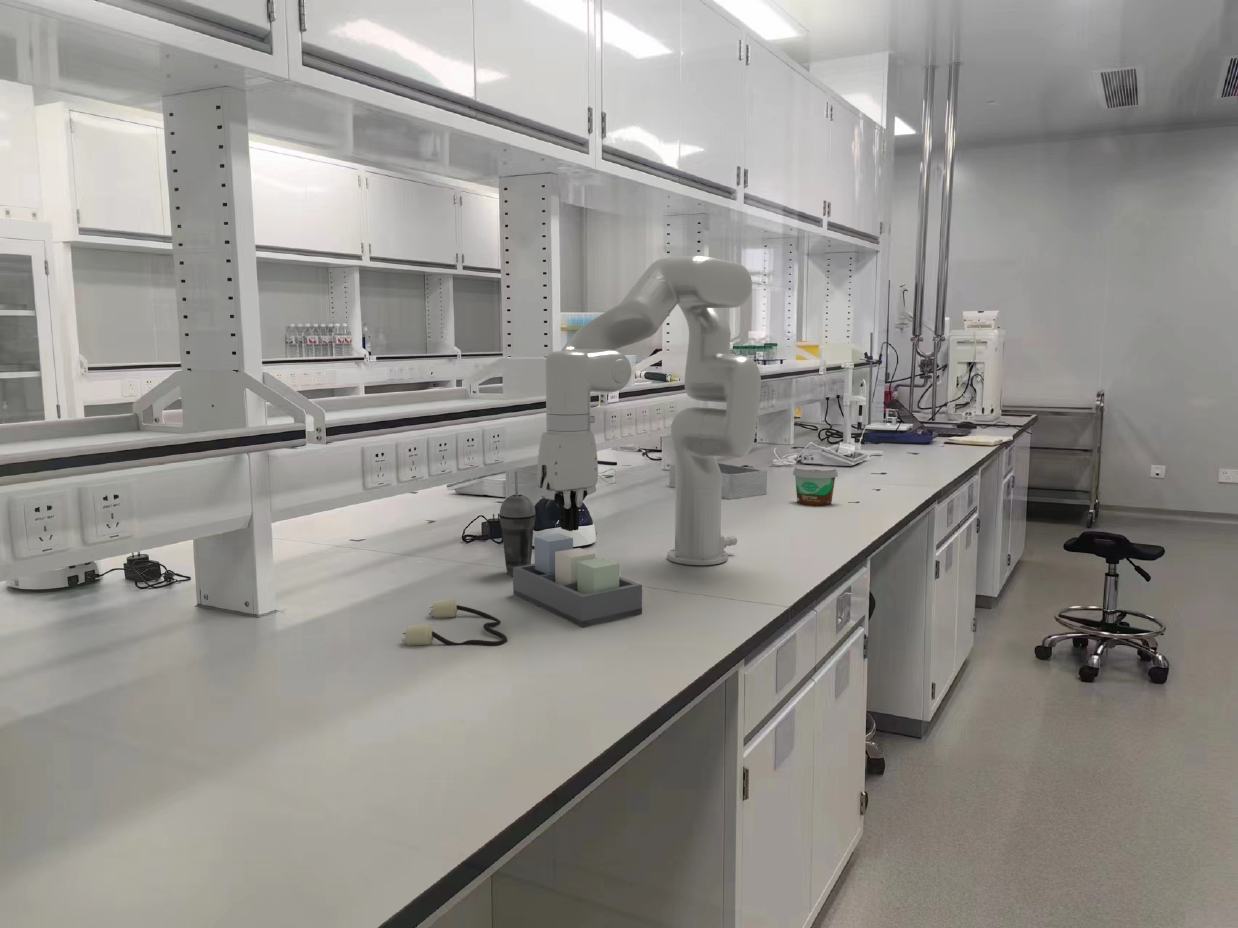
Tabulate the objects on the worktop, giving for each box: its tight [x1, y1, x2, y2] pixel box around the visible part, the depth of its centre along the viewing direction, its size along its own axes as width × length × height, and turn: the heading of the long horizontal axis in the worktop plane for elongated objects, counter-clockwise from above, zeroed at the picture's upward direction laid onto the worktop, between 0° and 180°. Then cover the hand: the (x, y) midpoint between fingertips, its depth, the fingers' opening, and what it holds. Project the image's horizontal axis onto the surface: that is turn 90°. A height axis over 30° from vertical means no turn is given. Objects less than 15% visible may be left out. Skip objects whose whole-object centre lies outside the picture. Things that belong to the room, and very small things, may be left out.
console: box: [512, 563, 643, 628], centre depth 153 cm, size 12×22×5 cm, turn 36°
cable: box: [401, 598, 508, 647], centre depth 139 cm, size 16×16×4 cm
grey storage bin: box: [669, 461, 768, 500], centre depth 267 cm, size 15×27×7 cm, turn 36°
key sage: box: [577, 557, 620, 594], centre depth 146 cm, size 5×5×6 cm
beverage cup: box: [498, 471, 537, 577], centre depth 171 cm, size 7×7×20 cm
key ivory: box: [555, 547, 596, 584], centre depth 152 cm, size 5×5×6 cm
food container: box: [792, 467, 839, 507], centre depth 244 cm, size 12×6×10 cm, turn 73°
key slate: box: [533, 532, 574, 574], centre depth 157 cm, size 5×5×6 cm
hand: (569, 529), depth 153 cm, fingers closed
